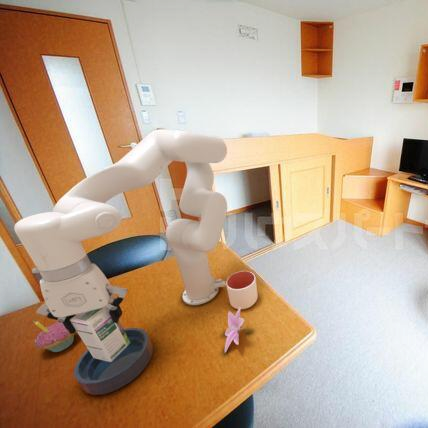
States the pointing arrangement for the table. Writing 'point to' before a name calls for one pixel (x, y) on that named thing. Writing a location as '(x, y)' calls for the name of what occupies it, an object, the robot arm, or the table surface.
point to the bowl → (115, 365)
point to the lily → (233, 328)
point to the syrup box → (100, 333)
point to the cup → (242, 289)
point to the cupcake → (54, 337)
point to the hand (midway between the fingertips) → (97, 323)
